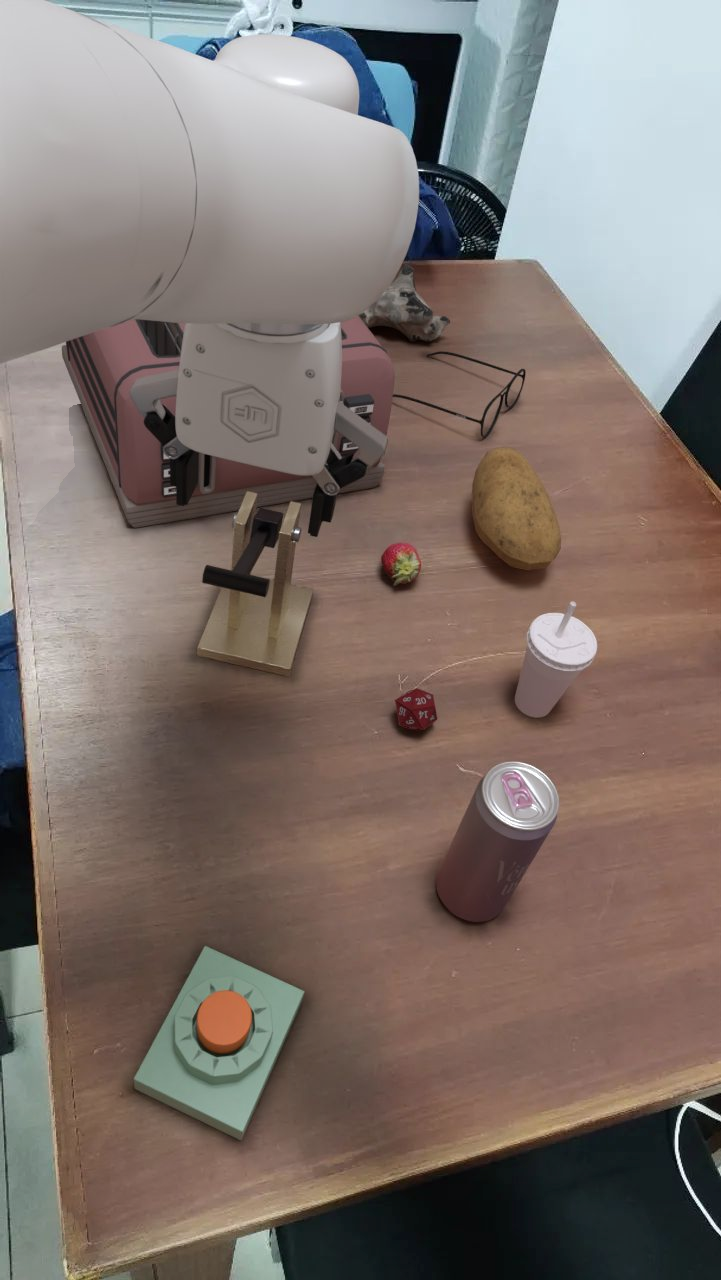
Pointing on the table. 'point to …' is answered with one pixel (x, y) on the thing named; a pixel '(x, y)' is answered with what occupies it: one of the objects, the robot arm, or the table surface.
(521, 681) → the smoothie
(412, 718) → the dice
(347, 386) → the toaster
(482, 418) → the glasses
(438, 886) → the beverage can
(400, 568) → the fruit
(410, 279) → the decorative stone
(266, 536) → the lever
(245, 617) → the bracket
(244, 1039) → the button
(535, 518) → the potato
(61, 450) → the table surface
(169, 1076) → the button block
